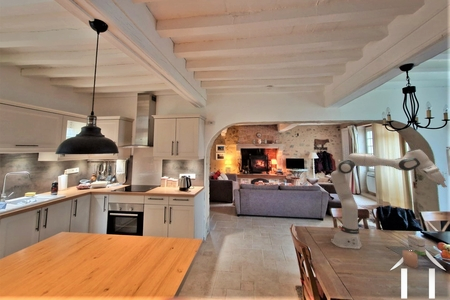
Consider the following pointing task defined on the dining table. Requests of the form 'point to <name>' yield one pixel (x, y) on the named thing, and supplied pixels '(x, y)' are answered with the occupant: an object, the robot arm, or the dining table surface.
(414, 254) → the brown rounded lump
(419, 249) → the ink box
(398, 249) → the mat
